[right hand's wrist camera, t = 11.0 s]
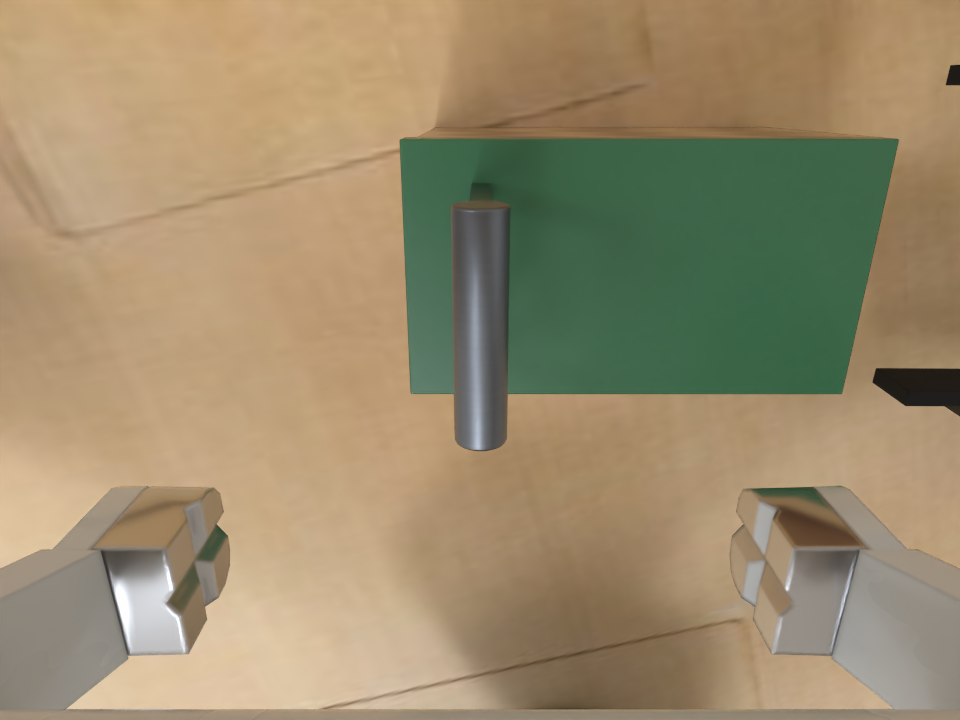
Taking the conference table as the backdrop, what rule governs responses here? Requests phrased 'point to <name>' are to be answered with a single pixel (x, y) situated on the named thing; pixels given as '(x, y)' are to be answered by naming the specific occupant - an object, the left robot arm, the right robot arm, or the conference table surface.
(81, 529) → the right robot arm
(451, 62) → the conference table surface
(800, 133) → the chest
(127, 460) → the conference table surface
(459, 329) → the lid
